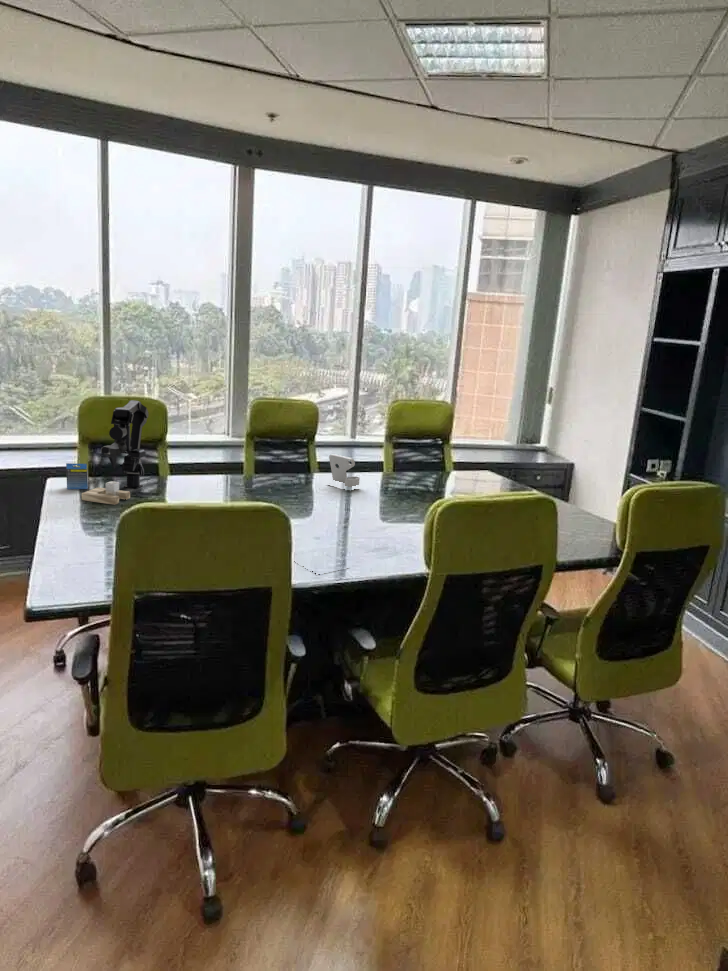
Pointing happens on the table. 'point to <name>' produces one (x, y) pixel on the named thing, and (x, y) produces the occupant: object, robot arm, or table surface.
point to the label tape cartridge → (77, 476)
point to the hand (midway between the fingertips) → (123, 469)
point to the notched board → (104, 496)
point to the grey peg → (112, 488)
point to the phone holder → (342, 470)
